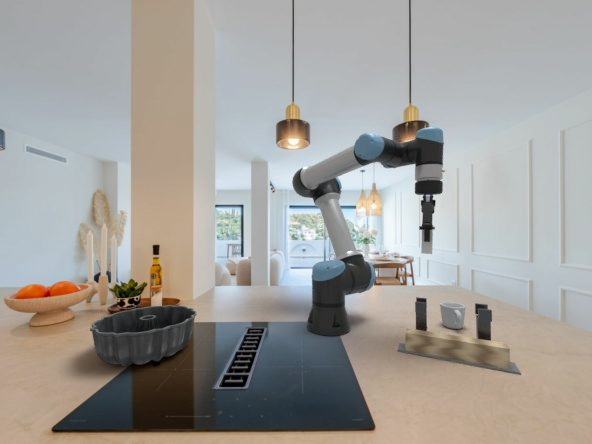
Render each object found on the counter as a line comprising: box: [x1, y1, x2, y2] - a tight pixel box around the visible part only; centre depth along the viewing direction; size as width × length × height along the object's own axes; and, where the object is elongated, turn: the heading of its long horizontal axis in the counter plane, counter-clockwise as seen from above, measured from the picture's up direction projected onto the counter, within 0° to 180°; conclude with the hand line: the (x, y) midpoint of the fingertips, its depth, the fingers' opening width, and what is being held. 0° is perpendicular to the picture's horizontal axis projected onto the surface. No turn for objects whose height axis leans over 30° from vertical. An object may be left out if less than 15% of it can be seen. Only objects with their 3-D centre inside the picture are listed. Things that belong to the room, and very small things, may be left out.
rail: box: [404, 327, 511, 369], centre depth 74 cm, size 24×4×5 cm, turn 64°
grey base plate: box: [397, 342, 522, 375], centre depth 74 cm, size 28×6×1 cm, turn 64°
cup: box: [439, 301, 466, 330], centre depth 97 cm, size 11×8×8 cm
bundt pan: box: [89, 304, 198, 367], centre depth 78 cm, size 26×26×10 cm
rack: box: [414, 296, 493, 341], centre depth 80 cm, size 22×7×13 cm, turn 64°
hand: (427, 251), depth 82 cm, fingers open, 13 cm apart
